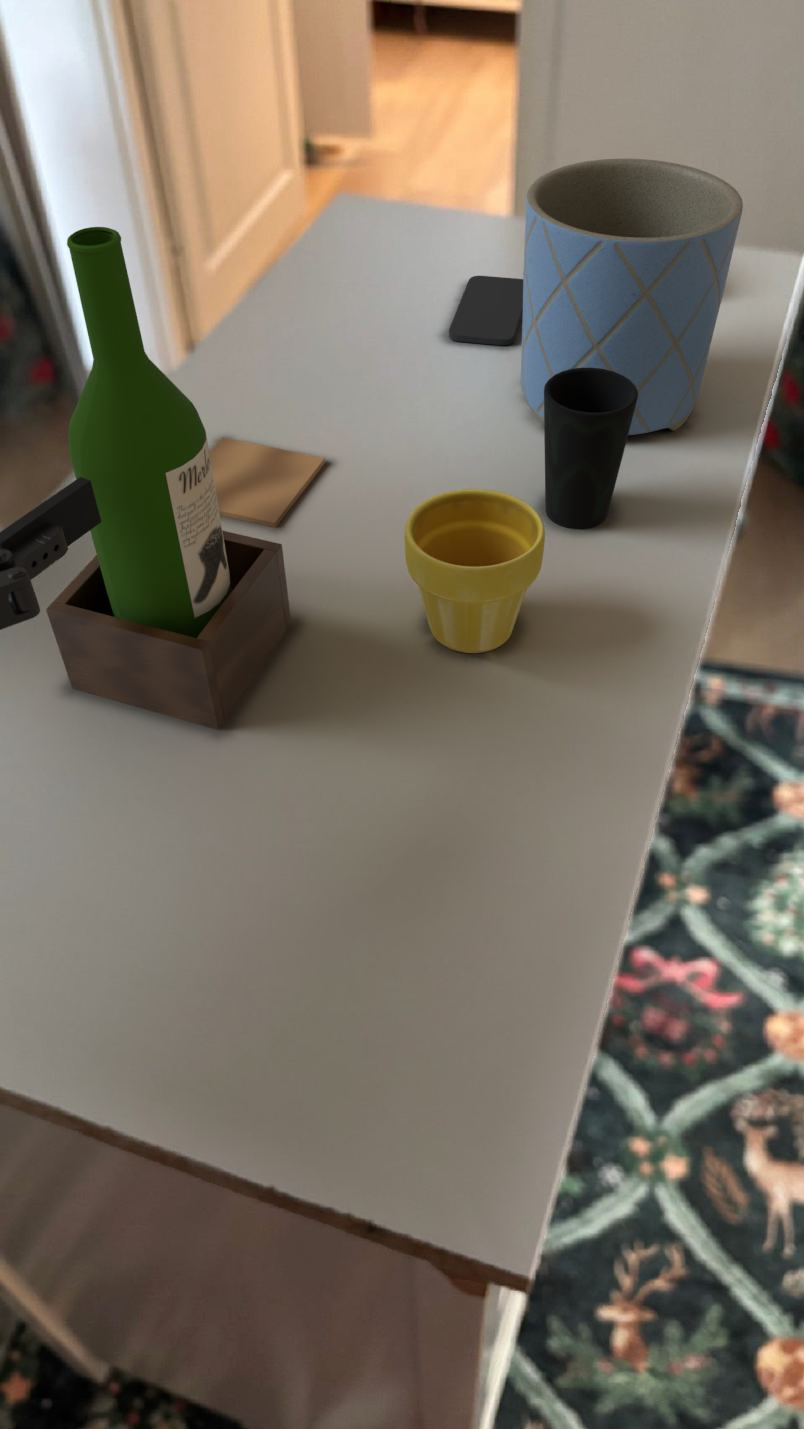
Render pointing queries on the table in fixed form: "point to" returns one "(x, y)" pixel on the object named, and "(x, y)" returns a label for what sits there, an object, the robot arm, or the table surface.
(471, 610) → the flower pot
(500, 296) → the phone
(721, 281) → the planter
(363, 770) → the table surface
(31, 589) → the robot arm
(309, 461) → the cork mat
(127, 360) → the wine bottle
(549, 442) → the cup
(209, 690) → the holder
